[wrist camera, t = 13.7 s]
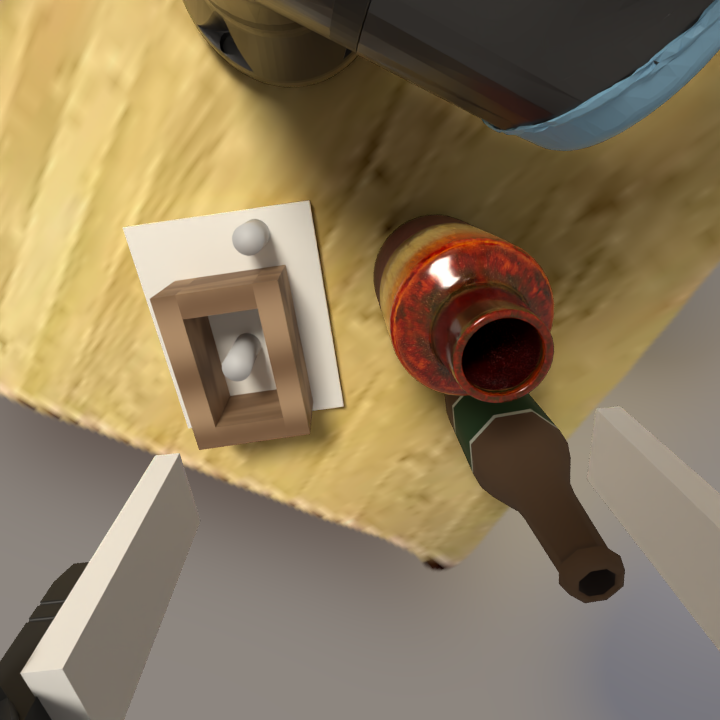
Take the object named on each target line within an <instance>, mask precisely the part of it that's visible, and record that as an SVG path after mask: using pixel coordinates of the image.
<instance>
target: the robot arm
mask: <svg viewBox="0 0 720 720" xmlns="http://www.w3.org/2000/svg"><path fill="white" fill-rule="evenodd" d="M183 2H184V4H185V7H186V9H187V11H188V13H189V15H190V16H191V18H192V20H193V22H194V23H195V25H196V27H197V28H198V30H199V31H200V32H201V34H202V35H203V36H204V38H205V39H206V40H207V41H208V43H209V44H210V45H211V46H212V47H213V48H214V49H215V50H216V51H217V52H218V53H219V54H220V55H221V56H222V57H223V58H224V59H225V60H226V61H227V62H229V63H230V64H231V65H232V66H233V67H235V68H236V69H238V70H239V71H241V72H242V73H244V74H246V75H247V76H249V77H251V78H253V79H256V80H258V81H260V82H263V83H266V84H270V85H274V86H280V87H302V86H308V85H312V84H316V83H319V82H321V81H324V80H326V79H328V78H330V77H332V76H334V75H336V74H337V73H339V72H340V71H341V70H343V69H344V68H345V67H346V66H348V65H349V64H350V63H351V62H352V61H353V60H354V59H355V58H356V57H357V56H358V55H359V56H361V57H363V58H365V59H367V60H369V61H371V62H373V63H374V64H376V65H378V66H380V67H382V68H384V69H386V70H388V71H390V72H392V73H394V74H396V75H398V76H400V77H402V78H404V79H405V80H407V81H409V82H411V83H413V84H415V85H417V86H419V87H421V88H423V89H425V90H427V91H429V92H431V93H433V94H435V95H436V96H438V97H440V98H442V99H444V100H446V101H448V102H450V103H452V104H454V105H456V106H458V107H460V108H462V109H464V110H466V111H468V112H469V113H471V114H473V115H475V116H477V117H479V118H481V119H482V121H483V122H484V123H485V124H486V125H487V126H488V127H489V128H491V129H493V130H494V131H496V132H499V133H500V132H503V133H505V134H507V135H516V136H518V137H521V138H523V139H525V140H527V141H529V142H532V143H534V144H536V145H538V146H541V147H543V148H546V149H550V150H559V151H572V150H578V149H582V148H586V147H590V146H593V145H596V144H599V143H601V142H603V141H606V140H608V139H610V138H612V137H614V136H616V135H618V134H620V133H621V132H623V131H625V130H626V129H628V128H630V127H631V126H633V125H634V124H636V123H638V122H639V121H641V120H642V119H643V118H645V117H646V116H648V115H649V114H651V113H652V112H653V111H655V110H656V109H657V108H659V107H660V106H661V105H662V104H664V103H665V102H666V101H667V100H669V99H670V98H671V97H672V96H673V95H674V94H676V93H677V92H678V91H679V90H680V89H681V88H682V87H683V86H685V85H686V84H687V83H688V82H689V81H690V80H691V79H692V78H693V77H694V76H695V75H696V74H697V73H698V72H699V71H700V70H701V69H702V68H703V67H704V66H705V65H706V64H707V63H708V62H709V61H710V60H711V58H712V57H713V56H714V55H715V54H716V53H717V52H718V51H719V49H720V0H183ZM587 480H588V482H589V483H590V484H591V486H592V487H593V488H594V489H595V491H596V492H597V493H598V494H599V496H600V497H601V498H602V500H603V501H604V502H605V504H606V505H607V506H608V508H609V509H610V510H611V511H612V513H613V514H614V515H615V516H616V518H617V519H618V520H619V522H620V523H621V524H622V526H623V527H624V528H625V530H626V531H627V532H628V533H629V535H630V536H631V537H632V538H633V540H634V541H635V542H636V544H637V545H638V546H639V548H640V549H641V550H642V551H643V553H644V554H645V555H646V556H647V558H648V559H649V561H650V562H651V563H652V564H653V566H654V567H655V568H656V570H657V571H658V572H659V573H660V575H661V576H662V577H663V579H664V580H665V581H666V582H667V584H668V585H669V586H670V588H671V589H672V590H673V591H674V593H675V594H676V595H677V597H678V598H679V599H680V601H681V602H682V603H683V604H684V606H685V607H686V608H687V610H688V611H689V612H690V613H691V615H692V616H693V617H694V619H695V620H696V621H697V622H698V624H699V625H700V626H701V628H702V629H703V630H704V632H705V633H706V634H707V635H708V637H709V638H710V639H711V641H712V642H713V643H714V645H715V646H716V647H717V648H718V650H719V651H720V494H719V492H717V491H716V490H715V489H714V488H713V487H712V486H710V485H709V484H708V483H707V482H706V481H705V480H704V479H703V478H701V477H700V476H699V475H698V474H697V473H695V472H694V471H693V470H692V469H691V468H690V467H689V466H688V465H687V464H685V463H684V462H683V461H682V460H681V459H680V458H679V457H678V456H676V455H675V454H674V453H673V452H672V451H671V450H670V449H668V448H667V447H666V446H665V445H664V444H663V443H661V442H660V441H659V440H658V439H657V438H656V437H655V436H653V435H652V434H651V433H650V432H649V431H648V430H647V429H646V428H644V427H643V426H642V425H641V424H640V423H639V422H637V421H636V420H635V419H634V418H633V417H632V416H631V415H630V414H629V413H627V412H626V411H625V410H624V409H623V408H622V407H620V406H617V407H607V408H598V409H596V411H595V419H594V427H593V436H592V442H591V451H590V458H589V466H588V474H587ZM199 523H200V517H199V514H198V511H197V508H196V505H195V501H194V498H193V495H192V492H191V489H190V485H189V482H188V479H187V476H186V473H185V469H184V466H183V463H182V460H181V456H180V453H176V454H167V455H157V456H155V457H154V459H153V460H152V462H151V463H150V465H149V467H148V468H147V470H146V471H145V473H144V475H143V476H142V478H141V480H140V481H139V483H138V484H137V486H136V488H135V489H134V491H133V492H132V494H131V496H130V497H129V499H128V500H127V502H126V504H125V505H124V507H123V509H122V510H121V512H120V513H119V515H118V517H117V518H116V520H115V521H114V523H113V525H112V526H111V528H110V529H109V531H108V533H107V534H106V536H105V538H104V539H103V541H102V542H101V544H100V546H99V547H98V549H97V551H96V552H95V554H94V555H93V557H92V558H91V560H90V562H86V563H77V564H73V565H72V566H71V567H70V568H69V569H67V570H66V571H65V572H64V573H63V574H62V575H61V576H60V577H59V578H58V579H57V580H56V581H54V582H53V584H52V585H51V587H50V588H49V590H48V591H47V593H46V595H45V596H44V597H43V599H42V600H41V602H40V603H41V604H40V606H37V608H36V609H35V611H34V612H33V614H32V615H31V617H30V618H29V622H28V623H26V624H25V625H24V627H23V628H22V630H21V632H20V633H19V634H18V636H17V637H16V639H15V640H14V642H13V643H12V645H11V646H10V648H9V649H8V651H7V652H6V654H5V655H4V657H3V658H2V660H1V661H0V720H124V719H125V716H126V713H127V710H128V708H129V706H130V703H131V700H132V698H133V695H134V693H135V690H136V687H137V685H138V682H139V679H140V677H141V674H142V672H143V669H144V666H145V664H146V661H147V659H148V656H149V653H150V651H151V648H152V646H153V643H154V640H155V638H156V635H157V632H158V630H159V627H160V624H161V622H162V620H163V617H164V614H165V612H166V609H167V607H168V604H169V601H170V599H171V596H172V593H173V591H174V588H175V586H176V583H177V581H178V578H179V575H180V573H181V570H182V567H183V565H184V562H185V560H186V556H187V554H188V552H189V549H190V547H191V544H192V541H193V538H194V536H195V533H196V531H197V528H198V525H199Z"/></svg>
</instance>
